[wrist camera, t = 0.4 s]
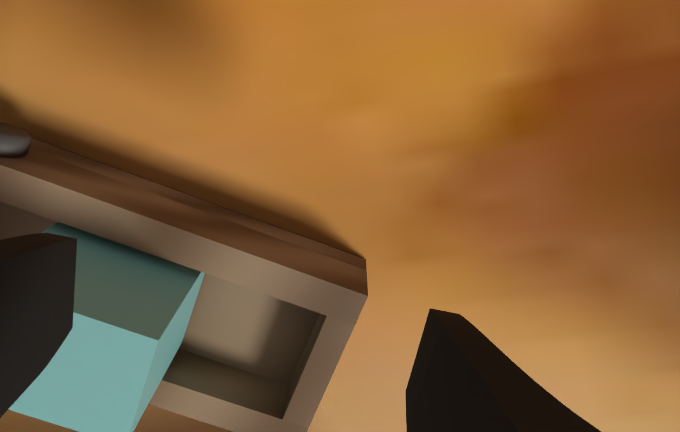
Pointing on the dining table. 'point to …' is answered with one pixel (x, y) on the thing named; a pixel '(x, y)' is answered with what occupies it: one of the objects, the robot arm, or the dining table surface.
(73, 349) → the teal block
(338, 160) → the dining table surface
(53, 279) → the robot arm
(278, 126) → the dining table surface
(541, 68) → the dining table surface
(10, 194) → the wooden tray
